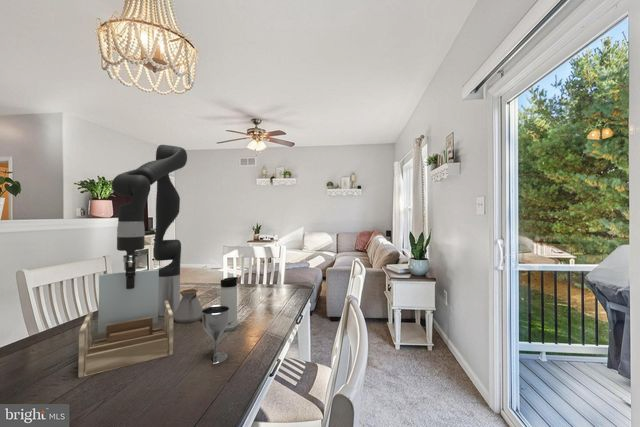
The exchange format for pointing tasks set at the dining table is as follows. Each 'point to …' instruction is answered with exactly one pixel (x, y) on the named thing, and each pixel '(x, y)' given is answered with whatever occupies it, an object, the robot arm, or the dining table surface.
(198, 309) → the coffee pot
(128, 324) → the offcut
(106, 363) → the rack
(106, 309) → the blue-grey flat rectangular block
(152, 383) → the dining table surface
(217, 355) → the wine glass
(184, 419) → the dining table surface
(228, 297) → the travel mug
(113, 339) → the offcut
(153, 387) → the dining table surface
